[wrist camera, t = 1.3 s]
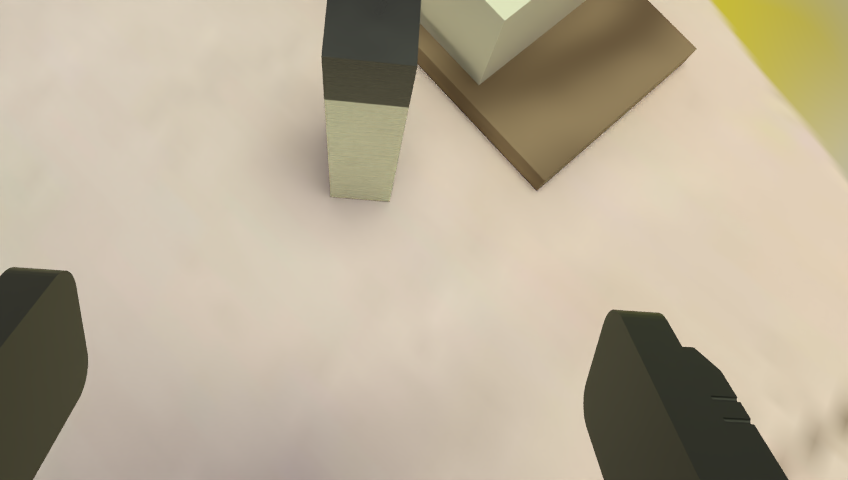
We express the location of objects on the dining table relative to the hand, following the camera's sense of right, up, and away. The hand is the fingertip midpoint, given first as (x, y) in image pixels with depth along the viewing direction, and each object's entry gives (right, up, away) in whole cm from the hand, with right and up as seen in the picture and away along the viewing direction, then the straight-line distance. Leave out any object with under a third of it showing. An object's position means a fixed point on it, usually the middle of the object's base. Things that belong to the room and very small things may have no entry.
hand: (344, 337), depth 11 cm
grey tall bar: (-2, +5, +25) cm, 26 cm away
